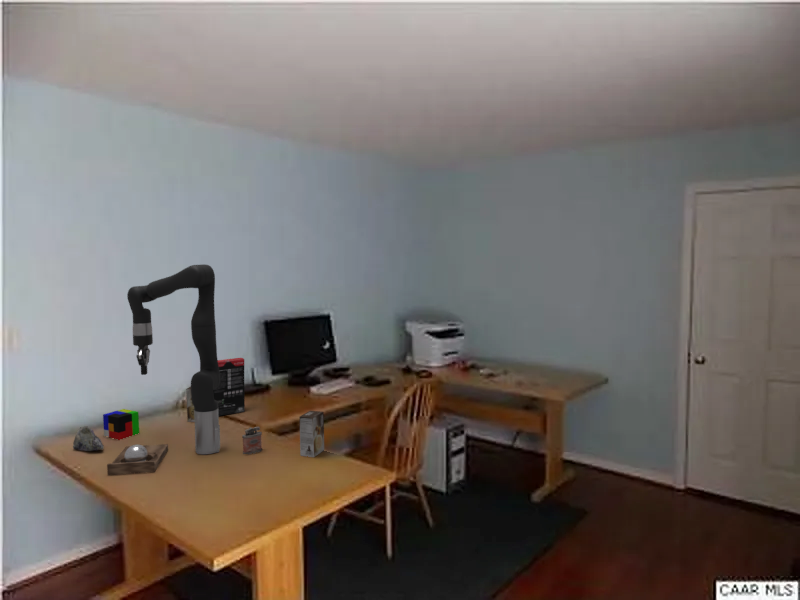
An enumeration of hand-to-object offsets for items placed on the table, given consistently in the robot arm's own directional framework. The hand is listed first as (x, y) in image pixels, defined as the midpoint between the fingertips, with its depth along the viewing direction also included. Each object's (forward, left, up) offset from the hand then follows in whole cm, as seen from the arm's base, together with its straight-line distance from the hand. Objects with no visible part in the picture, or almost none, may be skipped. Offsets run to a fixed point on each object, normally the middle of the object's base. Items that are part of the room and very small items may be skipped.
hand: (144, 374), depth 245 cm
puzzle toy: (+13, -11, -29) cm, 34 cm away
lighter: (-45, +22, -29) cm, 58 cm away
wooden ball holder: (-3, +25, -29) cm, 38 cm away
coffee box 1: (-17, -28, -29) cm, 44 cm away
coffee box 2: (-69, +28, -29) cm, 80 cm away
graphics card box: (-29, -37, -29) cm, 55 cm away
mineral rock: (+21, +8, -29) cm, 37 cm away
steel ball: (-3, +29, -25) cm, 38 cm away
